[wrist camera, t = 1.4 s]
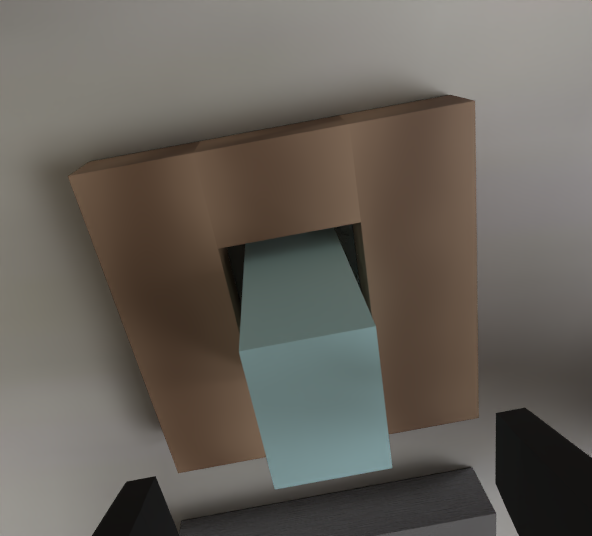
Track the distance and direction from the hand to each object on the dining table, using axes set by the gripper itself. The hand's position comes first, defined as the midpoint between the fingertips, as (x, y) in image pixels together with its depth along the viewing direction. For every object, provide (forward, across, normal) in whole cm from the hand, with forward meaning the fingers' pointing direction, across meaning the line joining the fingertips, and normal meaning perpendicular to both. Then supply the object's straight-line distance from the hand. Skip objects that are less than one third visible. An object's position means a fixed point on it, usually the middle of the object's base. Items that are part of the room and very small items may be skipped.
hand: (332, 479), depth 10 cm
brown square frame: (+9, 0, 0) cm, 9 cm away
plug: (+9, 0, 0) cm, 9 cm away
